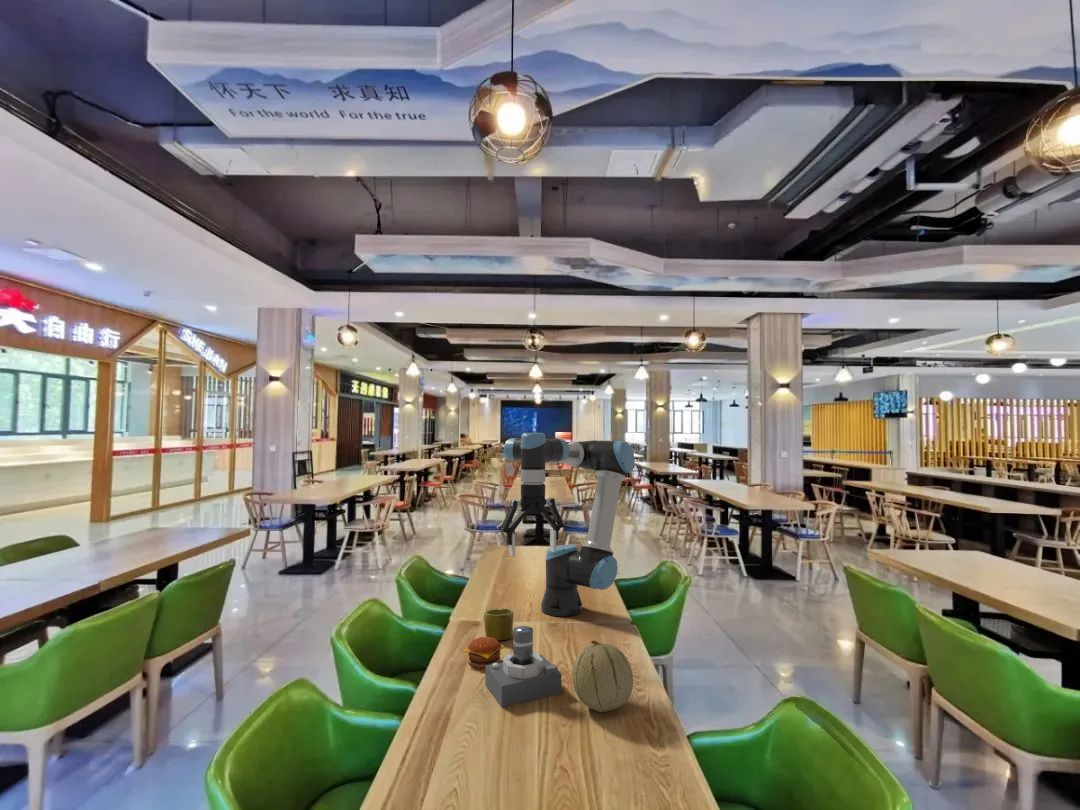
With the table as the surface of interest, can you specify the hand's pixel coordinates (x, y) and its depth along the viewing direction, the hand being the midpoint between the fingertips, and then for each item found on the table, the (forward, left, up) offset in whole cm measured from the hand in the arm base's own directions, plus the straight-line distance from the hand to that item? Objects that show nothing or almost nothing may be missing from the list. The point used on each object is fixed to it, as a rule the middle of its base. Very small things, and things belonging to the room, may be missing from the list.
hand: (532, 553), depth 160 cm
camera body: (+12, +21, -29) cm, 38 cm away
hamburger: (+16, +2, -29) cm, 33 cm away
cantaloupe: (-2, +37, -29) cm, 47 cm away
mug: (+5, -15, -29) cm, 33 cm away
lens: (+12, +21, -24) cm, 34 cm away
